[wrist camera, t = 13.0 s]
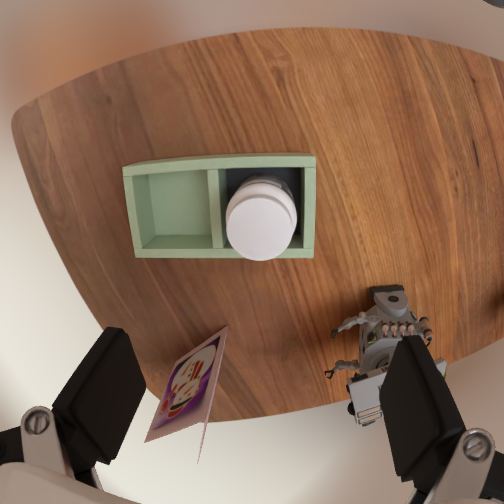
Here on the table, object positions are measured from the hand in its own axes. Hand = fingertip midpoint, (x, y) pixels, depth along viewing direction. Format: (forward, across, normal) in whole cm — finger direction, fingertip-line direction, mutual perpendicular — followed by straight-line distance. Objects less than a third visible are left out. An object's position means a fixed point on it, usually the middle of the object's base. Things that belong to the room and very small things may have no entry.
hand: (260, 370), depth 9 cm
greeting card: (+23, +8, +22) cm, 33 cm away
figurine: (+23, -12, +15) cm, 30 cm away
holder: (+23, +5, 0) cm, 24 cm away
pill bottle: (+22, +1, 0) cm, 23 cm away
